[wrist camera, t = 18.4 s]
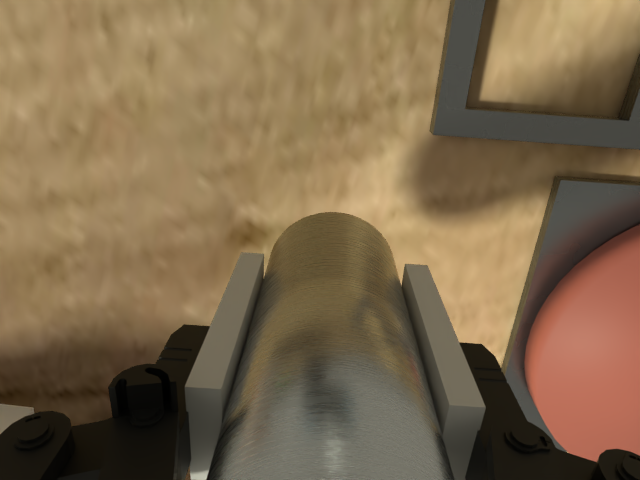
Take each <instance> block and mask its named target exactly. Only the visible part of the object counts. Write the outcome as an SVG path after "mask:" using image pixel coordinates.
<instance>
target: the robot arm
mask: <svg viewBox="0 0 640 480" xmlns="http://www.w3.org/2000/svg"><path fill="white" fill-rule="evenodd" d="M263 276H264V254H258V253H243V252H241V255H240V257H239V259H238V262H237V264H236V267H235V269H234V271H233V274H232V276H231V278H230V281H229V283H228V285H227V288H226V290H225V293H224V295H223V297H222V300H221V302H220V304H219V307H218V309H217V311H216V314H215V316H214V318H213V321H212V323H211V326H197V325H183V326H182V327H181V328H179V329H178V330H177V331H175V332H174V333H173V334H172V335H171V336H170V338H169V340H168V342H167V343H166V345H165V347H164V350H163V351H162V353H161V355H160V356H159V360H157V362H156V364H143V365H138V366H134V367H131V368H129V369H127V370H125V371H122V372H121V373H120V374H119V375H117V376H116V377H115V378H114V379H113V380H112V382H111V384H110V386H109V387H108V388H109V395H110V402H111V408H112V415H113V417H112V418H110V419H107V420H103V421H99V422H94V423H89V424H83V425H78V426H72V427H71V423H70V419H69V418H68V417H66V416H65V415H64V414H63V413H58V412H54V411H47V412H38V413H34V414H31V415H28V416H25V417H23V418H21V419H19V420H18V421H16V422H14V423H12V424H11V425H10V426H9V427H8V428H6V429H5V430H4V431H3V432H2V433H1V434H0V480H185V477H186V474H187V471H188V468H189V465H190V476H191V479H192V480H206V479H207V475H208V472H209V468H210V465H211V461H212V458H213V454H214V451H215V447H216V444H217V440H218V437H219V433H220V430H221V426H222V423H223V419H224V416H225V412H226V409H227V405H228V402H229V398H230V395H231V391H232V388H233V384H234V381H235V377H236V374H237V370H238V367H239V363H240V360H241V356H242V353H243V349H244V346H245V342H246V339H247V335H248V332H249V328H250V325H251V321H252V318H253V314H254V311H255V307H256V304H257V300H258V297H259V293H260V290H261V286H262V283H263ZM402 291H403V294H404V298H405V302H406V305H407V309H408V312H409V316H410V320H411V323H412V327H413V331H414V334H415V338H416V342H417V345H418V349H419V353H420V356H421V360H422V363H423V367H424V371H425V374H426V378H427V382H428V385H429V389H430V393H431V396H432V400H433V404H434V407H435V411H436V414H437V418H438V422H439V425H440V429H441V433H442V436H443V440H444V444H445V447H446V451H447V455H448V458H449V462H450V466H451V469H452V473H453V476H454V480H640V456H639V455H637V454H635V453H633V452H631V451H626V450H621V449H608V450H605V451H604V452H603V453H601V454H600V455H599V458H598V460H597V462H595V461H592V460H589V459H585V458H582V457H579V456H576V455H573V454H570V453H567V452H564V451H562V450H559V449H557V448H556V447H555V445H554V443H553V441H552V439H551V438H550V437H549V436H548V435H547V434H546V433H545V432H544V431H543V430H542V429H540V428H539V427H537V426H536V425H534V424H533V423H530V422H528V421H527V419H526V417H525V415H524V413H523V411H522V409H521V407H520V405H519V403H518V401H517V399H516V397H515V395H514V393H513V391H512V389H511V387H510V385H509V383H507V379H506V377H505V376H504V374H503V372H501V368H500V366H499V364H498V362H497V360H496V358H495V356H494V355H493V354H492V353H491V352H490V351H489V350H487V349H486V348H485V347H484V346H483V345H482V344H473V343H459V341H458V339H457V336H456V334H455V331H454V329H453V326H452V324H451V322H450V319H449V317H448V314H447V312H446V309H445V307H444V305H443V302H442V300H441V297H440V295H439V292H438V290H437V288H436V285H435V283H434V280H433V278H432V275H431V273H430V270H429V268H428V266H427V265H414V264H405V267H404V274H403V280H402Z"/></svg>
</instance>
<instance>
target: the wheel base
mask: <svg viewBox="0 0 640 480" xmlns="http://www.w3.org/2000/svg"><path fill="white" fill-rule="evenodd" d="M637 225H640V182H627V181H612V180H598V179H584V178H570V177H556V176H555V179H554V183H553V186H552V190H551V193H550V197H549V200H548V204H547V208H546V211H545V215H544V218H543V222H542V225H541V229H540V232H539V236H538V240H537V243H536V247H535V250H534V254H533V257H532V261H531V264H530V268H529V272H528V275H527V279H526V282H525V286H524V289H523V293H522V296H521V300H520V304H519V307H518V311H517V314H516V318H515V321H514V325H513V329H512V332H511V336H510V339H509V343H508V346H507V350H506V353H505V357H504V361H503V364H502V368H501V372H503V374H504V376H505V377H506V379H507V383H509V385H510V387H511V389H512V391H513V393H514V395H515V397H516V399H517V401H518V403H519V405H520V407H521V409H522V411H523V413H524V415H525V417H526V419H527V421H528V422H530V423H533V424H534V425H536V426H537V427H539V428H540V429H542V430H543V431H544V432H545V433H546V434H547V435H548V436H549V437H550V438H551V439H552V441H553V443H554V445H555V447H556V448H557V449H559V450H562V451H564V452H567V451H566V450H565V449H564V448H563V447H562V446H561V445H560V444H559V443H558V442H557V441H556V440H555V438H554V437H553V435H552V434H551V432H550V431H549V429H548V428H547V426H546V424H545V422H544V421H543V419H542V417H541V415H540V413H539V411H538V410H537V408H536V406H535V404H534V402H533V400H532V397H531V395H530V393H529V390H528V386H527V382H526V378H525V364H524V360H525V351H526V344H527V341H528V337H529V334H530V330H531V328H532V325H533V323H534V321H535V318H536V316H537V314H538V312H539V310H540V309H541V307H542V305H543V304H544V302H545V301H546V299H547V297H548V296H549V295H550V293H551V292H552V291H553V290H554V288H555V287H556V286H557V284H558V283H559V282H560V281H561V280H562V279H563V278H564V277H565V276H566V275H567V274H568V273H569V272H570V271H571V269H572V268H573V267H574V266H575V265H577V264H578V263H579V262H580V261H582V260H583V259H584V258H585V257H586V256H588V255H589V254H590V253H591V252H593V251H594V250H595V249H597V248H598V247H600V246H601V245H603V244H605V243H606V242H608V241H609V240H611V239H612V238H614V237H616V236H618V235H619V234H621V233H623V232H625V231H627V230H629V229H631V228H633V227H635V226H637Z"/></svg>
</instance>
